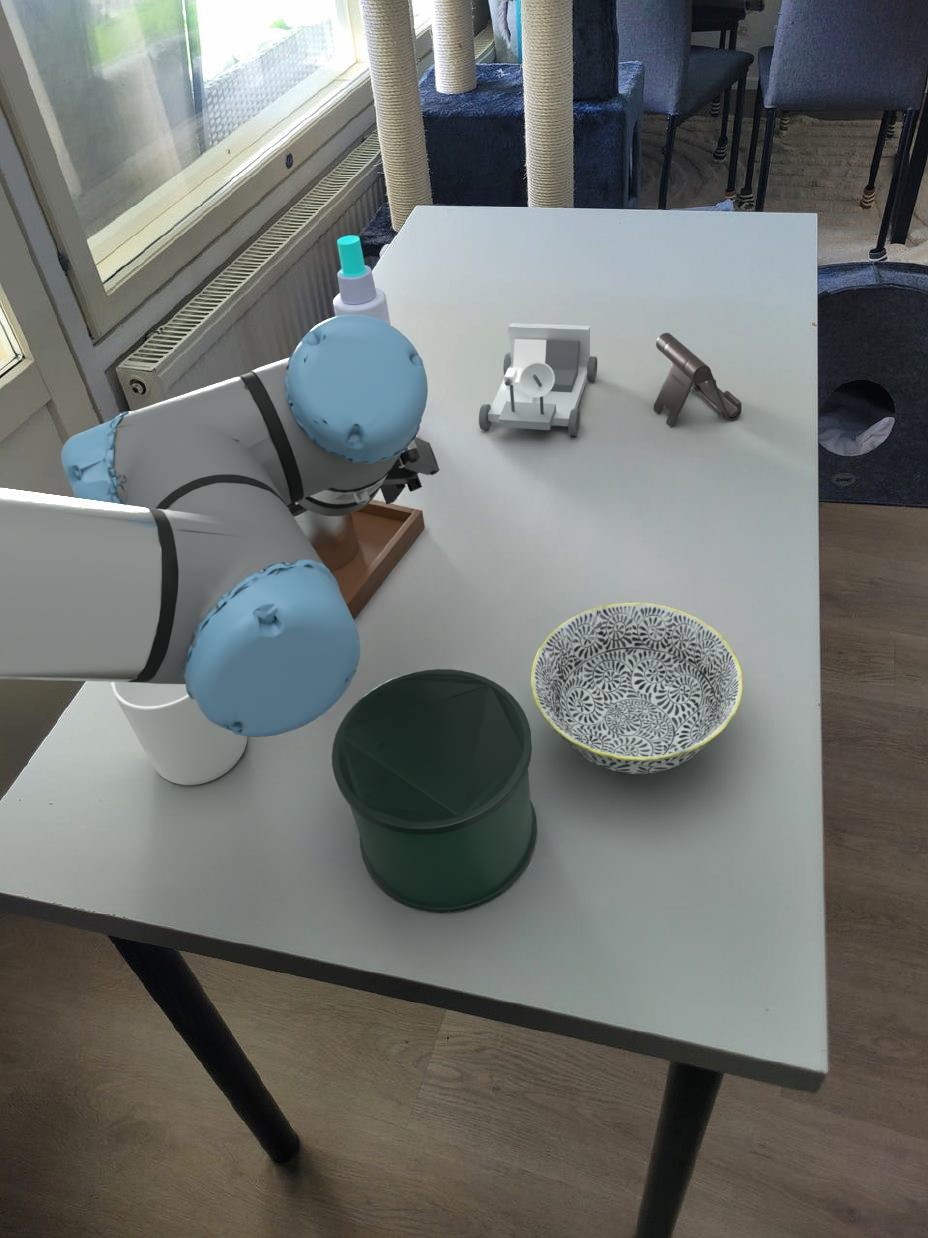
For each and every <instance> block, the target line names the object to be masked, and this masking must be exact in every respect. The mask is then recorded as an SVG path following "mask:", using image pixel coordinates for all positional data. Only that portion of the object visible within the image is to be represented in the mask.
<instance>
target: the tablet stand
mask: <svg viewBox="0 0 928 1238" xmlns="http://www.w3.org/2000/svg"><path fill="white" fill-rule="evenodd" d="M655 347H656V349H657V350H658V351H659V352H660V353H661V354H663V355H664V356H665V357H666V358H667V359H668V360H670V361H671V365H670V367H669V370H668V372H667V373H666V376H665V379H664V381H663V384H662V386H661V388H660V391H659V392H658V395H657V397H656V399H655V402H654V404H653V406H652V407H653V408H652V409H653V410H654V412H655V413H656V414H657V415H660V414H661V412H662V410H663V409H664V408H665V409H667V411H668V415H667V418H666V422H665V423H666V424H667V425H668V426H669V427H674V426H675V425H676V423H677V420H679V419H678V418H679V417H680V414H681V412H682V410H683V407H684V405H685V403H686V401H687V398H688V397H689V394H690V392H691V390H692V389H693V390H694V391H695V392H696V393H698V394H699V395H700V396H701V397H702V398H704V399H705V400H706V401H707V403H709V404H710V405H711V406H712V407H713V408H714V409H716V411H718V412H719V414H720V415H721V416H722V417H724V419H727V421H730V422H732V421H735V420H737V419H739V417H740V416H741V415H742V410H743V409H742V407H743V405H742V401H740V400H739V399H738V398H737V397H736V396H734V395H733V394H732V393H731V392H730V391H729V390H725V391H724V392H723V391H722V390H721V389H720V388H719V387H718V385H717V380H716V379H715V377H714V375H713V373H712V369H711V368H710V367H709V366H708V365H707V364H706V363H705V362H704V361H702V359H700V358H699V357H698V356H697V355H696V354H694V353H693V352H692V351H691V350H690V349H689V348H688V347H687V346H685V345H684V344H683V343H682V342H681V341H680V340H678V339H677V338H676V337H675V336H673V335H672V334H671V333H670V332H663V333H661V334H660V335H658V337H657V339H656V341H655Z"/></svg>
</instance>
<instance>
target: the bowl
mask: <svg viewBox="0 0 928 1238" xmlns="http://www.w3.org/2000/svg"><path fill="white" fill-rule="evenodd" d="M530 676H531V677H530V684H531V691H532V696H533V699H534V701H535V703H536V706H537V708H538V710H539V711H540V713H541V715H542V716H543V718H544V719H545V721H546V722H547V723H548V724H549V725H550V726H551V727H552V728H553V729H554V731H556V732H557V733H558V734H559V735H560V737H561V738H562V739H563V740H564V741H565V743H567V745H568V746H570V748H571V749H572V750H574V751H575V752H576V753H577V754H578V755H580V756H581V757H583V758H584V759H586V760H587V761H589V762H591V763H593V764H594V765H597V766H599V767H601V768H604V769H607V770H610V771H613V772H617V773H622V774H631V775H635V774H636V775H646V774H647V775H648V774H654V773H659V772H664V771H667V770H671V769H673V768H677V767H678V766H681V765H682V764H684V763H687V762H688V761H689V760H691V759H692V758H694V757H695V756H697V755H698V754H699V753H700V752H701V751H703V750H704V749H705V747H707V745H708V744H709V743H710V742H711V741H712V740H714V739H715V738H717V736H718V735H720V734H721V733H722V732H723V731H724V730H725V729H726V727H727V726H728V725H729V723H730V722H731V721H732V719H733V718H734V716H735V714H736V713H737V711H738V709H739V706H740V703H741V700H742V697H743V690H744V689H743V686H744V680H743V673H742V668H741V664H740V662H739V659H738V657H737V655H736V653H735V651H734V650H733V648H732V647H731V645H730V644H729V642H727V641H726V639H725V638H724V637H723V636H722V635H721V634H720V633H719V632H718V631H716V630H715V629H714V628H713V627H712V626H710V625H709V624H708V623H706V622H704V621H703V620H701V619H700V618H698V617H695V616H693V615H691V614H690V613H687V612H685V611H682V610H679V609H676V608H673V607H669V606H665V605H660V604H656V603H655V604H654V603H647V602H623V603H622V602H621V603H612V604H607V605H602V606H597V607H595V608H590V609H588V610H585V611H583V612H581V613H578V614H576V615H574V616H572V617H571V618H569V619H566V621H563V622H562V623H561V624H560V625H558V626H556V628H555V629H553V630H552V631H551V632H550V634H549V635H548V636H547V637H546V638H545V639H544V640H543V642H542V643H541V645H540V646H539V648H538V650H537V652H536V655H535V657H534V659H533V663H532V666H531V674H530Z"/></svg>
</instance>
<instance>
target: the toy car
mask: <svg viewBox="0 0 928 1238" xmlns="http://www.w3.org/2000/svg"><path fill="white" fill-rule="evenodd" d="M507 326H508V327H507V328H508V341H509V343H508V344H509V352H506V353H505V354H504V357H503V367H502V369H503V375H504V376H503V379H502V381H501V384H500V387H499V388H498V390H497V393H496V395H495V397H494V400H493V401H492V404H491V405H490V404H489V403H482V404H481V405H480V408H479V413H478V426H479V428H480V430H485V431H488V430H489V429H490V427H491V425H492V422H493V423H498V428H509V429H526V430H541V431H550V430H551V427H552V426H556V427H557V426H560V427H568V428H567V429H568V434H569V436H573V437H574V436H575V437H576V436H578V434H579V430H580V424H581V412H580V409H578V407H579V404H580V401H581V399H582V395H583V392H584V389H585V386H586V384H587V381H589V382H595V381H596V379H597V374H598V357H597V356H594V355H591V325H579V324H550V323H525V322H524V323H521V322H510V323H509V324H508V325H507Z"/></svg>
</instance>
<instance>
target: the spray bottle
mask: <svg viewBox="0 0 928 1238" xmlns="http://www.w3.org/2000/svg"><path fill="white" fill-rule="evenodd" d="M360 239H361V238H360V237H359V236H358V235H353V234H352V235H350V234H349V235H344V236H342V237H340V238H338V239H337V241H336V243H337V249H338V253H339V254H338V255H339V260H340V265H341V269H340V270H338V272H337V275H336V276H337V282H338V289H339V293H338V294H337V295H336V296H335V297H334V299H333V302H332V304H333V310H334V314H335V317H337V316H342V315H364V316H369V317H374V318H377V319H379V320H381V321H384V322H386V323H388V324H390V325H391V318H390V312H389V306H388V301H387V295H386V293H385V292H384V290H383V289H380V288H378V287H376V285H375V284H376V283H375V281H374V280H375V279H374V275H373V271H372V267H371V266H369V265H365V259H364V254H363V249H362V245H361V240H360Z"/></svg>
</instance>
